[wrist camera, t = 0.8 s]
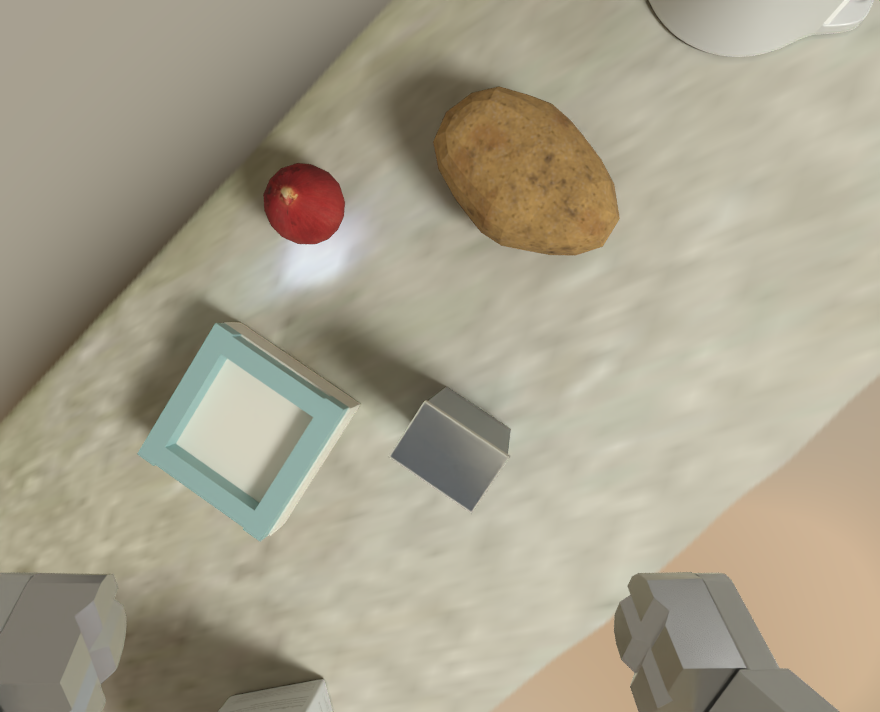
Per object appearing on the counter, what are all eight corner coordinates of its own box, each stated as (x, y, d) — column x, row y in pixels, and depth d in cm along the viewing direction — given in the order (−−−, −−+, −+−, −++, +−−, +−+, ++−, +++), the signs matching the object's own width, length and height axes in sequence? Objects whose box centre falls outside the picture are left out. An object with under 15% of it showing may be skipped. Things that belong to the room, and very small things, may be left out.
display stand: (240, 322, 51) (214, 321, 47) (360, 403, 50) (345, 411, 46) (168, 442, 52) (135, 452, 48) (284, 524, 51) (261, 542, 47)
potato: (558, 298, 48) (565, 292, 40) (417, 186, 49) (396, 158, 41) (642, 196, 47) (667, 169, 39) (496, 83, 48) (491, 34, 40)
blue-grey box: (446, 384, 49) (424, 400, 38) (512, 428, 49) (509, 457, 38) (417, 428, 50) (388, 456, 39) (482, 472, 49) (471, 513, 38)
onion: (274, 232, 50) (228, 214, 42) (302, 165, 50) (261, 134, 42) (338, 261, 50) (303, 249, 42) (367, 194, 49) (338, 168, 41)
